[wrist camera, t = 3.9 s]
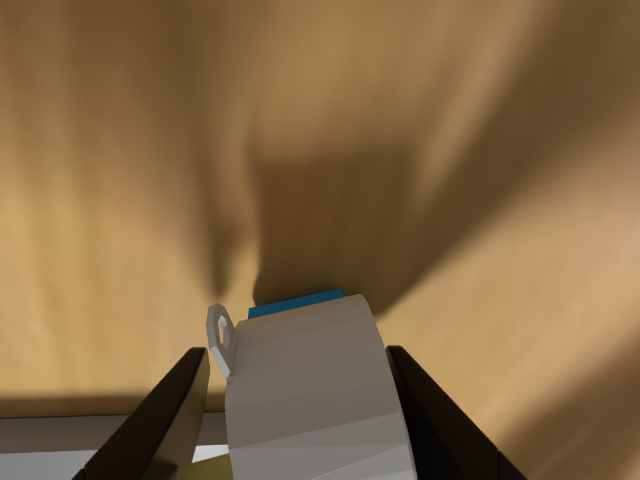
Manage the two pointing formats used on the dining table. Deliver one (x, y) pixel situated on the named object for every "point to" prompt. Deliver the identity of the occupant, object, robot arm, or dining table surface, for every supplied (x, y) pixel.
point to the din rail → (79, 444)
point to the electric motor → (306, 395)
